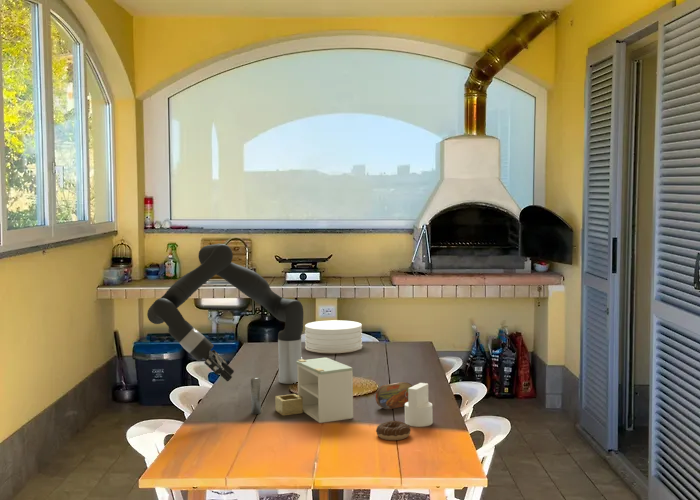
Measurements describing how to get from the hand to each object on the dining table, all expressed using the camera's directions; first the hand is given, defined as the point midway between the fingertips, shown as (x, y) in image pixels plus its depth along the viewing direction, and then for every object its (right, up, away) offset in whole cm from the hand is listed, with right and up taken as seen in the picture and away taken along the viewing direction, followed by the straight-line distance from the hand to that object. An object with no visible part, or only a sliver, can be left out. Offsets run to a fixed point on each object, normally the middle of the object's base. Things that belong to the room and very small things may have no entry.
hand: (231, 376), depth 258 cm
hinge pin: (+8, -13, +1) cm, 15 cm away
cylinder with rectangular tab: (+63, -13, -12) cm, 65 cm away
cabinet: (+32, -12, 0) cm, 34 cm away
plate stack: (+33, -5, +116) cm, 120 cm away
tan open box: (+20, -12, +2) cm, 23 cm away
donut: (+54, -14, -26) cm, 62 cm away
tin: (+56, -12, +7) cm, 58 cm away
